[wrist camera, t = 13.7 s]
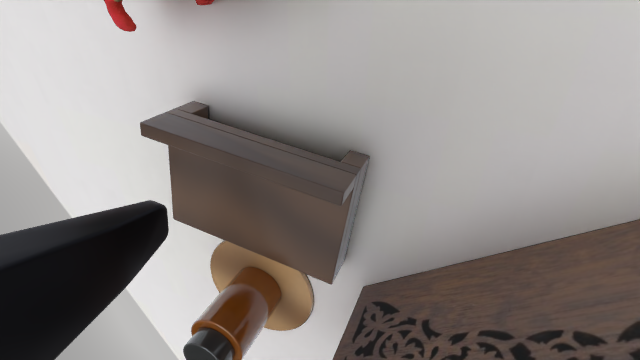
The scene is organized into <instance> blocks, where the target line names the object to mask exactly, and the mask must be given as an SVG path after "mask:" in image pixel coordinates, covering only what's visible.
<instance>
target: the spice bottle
mask: <svg viewBox="0 0 640 360" xmlns="http://www.w3.org/2000/svg"><path fill="white" fill-rule="evenodd" d="M281 296H282V295H281V290H280V287H279V285H278V283H277V282H276V281H275V279H274V278H273V277H272V276H271V275H269V274H268V273H267V272H265V271H263V270H261V269H259V268H255V267H245V268H243V269H241V270H240V271H239V272H238V273H237V274H236V275H235V276H234V278H233V279H232V280H231V281H230V282H229V283H228V284H227V286H226V287H225V288H224V289H223V290H222V291H221V293H220V294H219V295H218V296H217V297H216V298H215V299H214V301H213V302H212V303H211V304H210V305H209V306H208V307H207V309H206V310H205V311H204V312H203V313H202V314H201V315H200V317H199V318H198V319H197V320H196V321H195V322H194V324H193V325H192V329H191V333H192V338H191V339H190V340H189V341H188V342H187V344H186V345H185V346H184V349H183V352H184V356H185V358H186V360H242V359H243V358H244V356H245V355H246V353H247V352H248V350H249V348H250V347H251V345H252V344H253V342H254V341H255V339H256V338H257V336H258V335H259V333H260V332H261V330H262V329H263V327H264V326H265V324H266V323H267V321H268V320H269V318H270V317H271V315H272V314H273V312H274V311H275V309H276V308H277V306H278V305H279V303H280V301H281Z"/></svg>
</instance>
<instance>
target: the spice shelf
mask: <svg viewBox="0 0 640 360" xmlns="http://www.w3.org/2000/svg"><path fill="white" fill-rule="evenodd" d="M140 128H141V135H142V136H144V137H147V138H150V139H153V140H156V141H158V142H161V143H164V144H167V145H168V148H169V162H170V176H171V191H172V205H173V219H175V220H177V221H180V222H182V223H184V224H187V225H189V226H192V227H194V228H196V229H199V230H201V231H204V232H206V233H209V234H211V235H213V236H216V237H218V238H221V239H223V240H225V241H228V242H230V243H233V244H235V245H237V246H240V247H242V248H245V249H247V250H249V251H252V252H254V253H257V254H259V255H262V256H264V257H266V258H269V259H271V260H274V261H276V262H278V263H281V264H283V265H286V266H288V267H290V268H293V269H295V270H298V271H300V272H302V273H305V274H307V275H310V276H312V277H315V278H317V279H319V280H322V281H324V282H327V283H329V284H332V283H333V281H334V279H335V277H336V275H337V273H338V272H339V270H340V268H341V266H342V264H343V262H344V260H345V256H346V252H347V248H348V244H349V240H350V235H351V231H352V227H353V223H354V219H355V215H356V211H357V207H358V203H359V198H360V194H361V190H362V186H363V182H364V178H365V174H366V170H367V165H368V161H369V156H367V155H364V154H361V153H357V152H354V151H351V150H350V151H349V152H348V154H347V155H346V156H345V157H344V158H343V159H342V161H341V162H339V161H336V160H333V159H330V158H327V157H324V156H320V155H317V154H314V153H311V152H308V151H305V150H302V149H299V148H296V147H293V146H290V145H286V144H283V143H280V142H277V141H274V140H271V139H268V138H265V137H262V136H259V135H255V134H252V133H249V132H246V131H243V130H240V129H237V128H234V127H231V126H228V125H225V124H221V123H218V122H215V121H212V120H209V112H208V106H207V105H204V104H201V103H198V102H194V101H192V102H190V103H187V104H185V105H182V106H180V107H178V108H176V109H172V110H170V111H168V112H165V113H163V114H160V115H158V116H155V117H153V118H150V119H148V120H145V121H143V122H140Z"/></svg>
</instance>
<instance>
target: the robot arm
mask: <svg viewBox="0 0 640 360" xmlns="http://www.w3.org/2000/svg"><path fill="white" fill-rule="evenodd" d="M168 230H169V229H168V217H167V209H166V207H165V206H164V205H162V204H160V203H157V202H155V201H151V200H149V201H145V202H140V203H136V204H132V205H127V206H123V207H119V208H114V209H110V210H106V211H102V212H97V213H93V214H89V215H84V216H80V217H76V218H71V219H67V220H63V221H58V222H54V223H50V224H46V225H41V226H37V227H33V228H29V229H24V230H20V231H15V232H11V233H7V234H3V235H0V360H55V359H56V357H58V356H59V355H60V353H61V352H62V351H63V350H64V349H65V348H66V347H67V346H68V345H69V344H70V343H71V342H72V341H73V340H74V339H75V338H76V337H77V336H78V335H79V334H80V333H81V332H82V331H83V330H84V329H85V328H86V327H87V326H88V325H89V324H90V323H91V322H92V321H93V320H94V319H95V318H96V317H97V316H98V315H99V314H100V313H101V312H102V311H103V310H104V309H105V308H106V307H107V306H108V305H109V304H110V303H111V302H112V301H113V300H114V299H115V298H116V297H117V296H118V295H119V294H120V293H121V292H122V291H123V290H124V289H125V288H126V286H127V285H128V284H129V283H130V282H131V281H132V280H133V278H134V277H135V276H136V275H137V274H138V272H139V271H140V270H141V269H142V267H143V266H144V265H145V264H146V263H147V261H148V260H149V259H150V258H151V256H152V255H153V254H154V253H155V252H156V250H157V249H158V248H159V247H160V245H161V244H162V243H163V242H164V240H165V239H166V237H167V235H168Z"/></svg>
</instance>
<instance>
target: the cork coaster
mask: <svg viewBox="0 0 640 360" xmlns="http://www.w3.org/2000/svg"><path fill="white" fill-rule="evenodd" d="M210 266H211V274H212V278H213V281H214V283H215V285H216V287H217V289H218V291H219V293H221V291H222V290H223V289H224V288H225V287H226V286H227V284H228V283H229V282H230V281H231V280H232V279H233V278H234V276H235V275H236V274H237V273H238V272H239V271H240V270H241V269H243V268H245V267H255V268H259V269H261V270H263V271H265V272H267V273H268V274H269V275H271V276H272V277H273V278H274V279H275V281H276V282H277V283H278V285H279V287H280V290H281V295H282V296H281V301H280V303H279V305H278V306H277V308H276V309H275V311H274V312H273V314H272V315H271V317H270V318H269V320H268V321H267V323H266V324H265V326H264V328H267V329H272V330H279V331H285V330H292V329H295V328H297V327H299V326H301V325H302V324H303V323H305V321H306V320H307V319H308V317H309V315H310V314H311V312H312V308H313V302H314V299H313V292H312V288H311V285H310V282H309V280H308V278H307V276H306V275H305V273H302V272H300V271H298V270H295V269H293V268H290V267H288V266H286V265H283V264H281V263H278V262H276V261H274V260H271V259H269V258H266V257H264V256H262V255H259V254H257V253H254V252H252V251H249V250H247V249H245V248H242V247H240V246H237V245H235V244H233V243H230V242H228V241H223V242H222V243H221V244H220V245H219V246H217V248H216V249H215V250H214V252H213V254H212V258H211V265H210Z"/></svg>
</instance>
